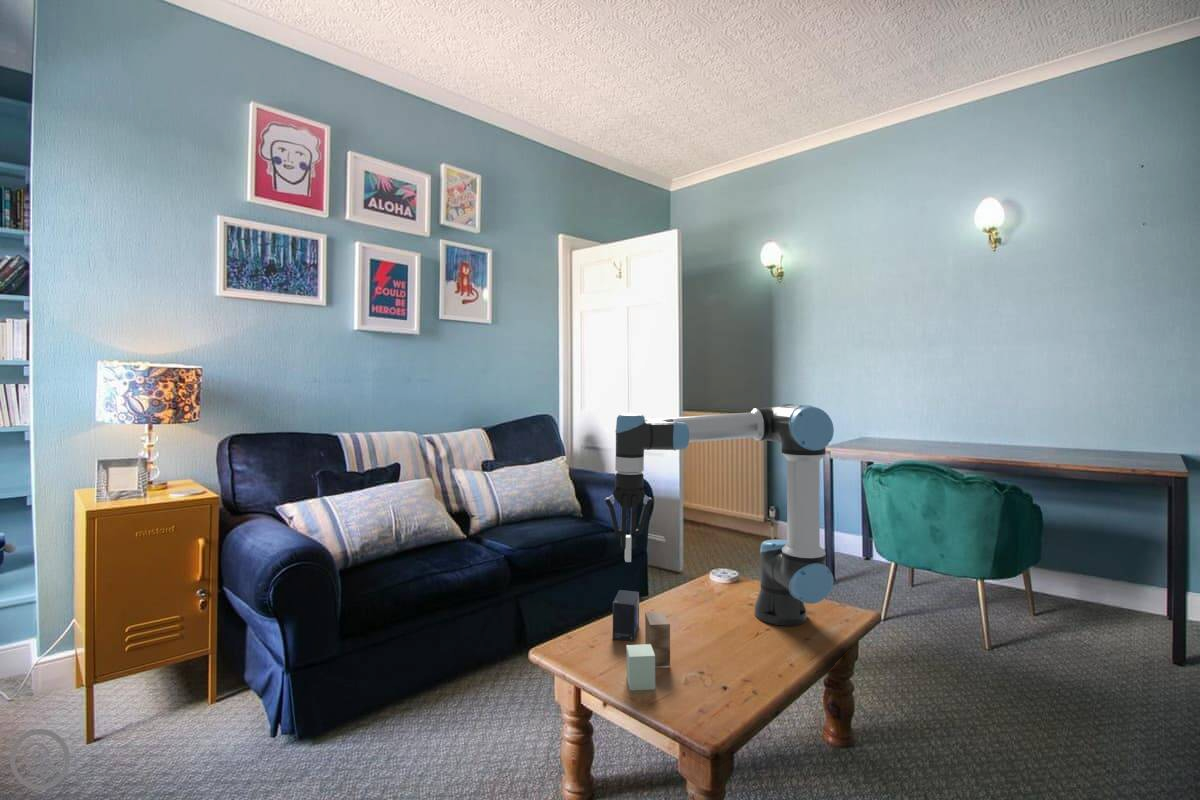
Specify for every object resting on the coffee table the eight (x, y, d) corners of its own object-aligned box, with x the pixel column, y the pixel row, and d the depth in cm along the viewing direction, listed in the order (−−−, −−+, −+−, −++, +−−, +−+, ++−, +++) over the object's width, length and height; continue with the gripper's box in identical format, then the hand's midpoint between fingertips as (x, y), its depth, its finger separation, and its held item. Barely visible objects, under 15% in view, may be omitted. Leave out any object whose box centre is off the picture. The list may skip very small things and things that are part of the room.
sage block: (651, 676, 142) (650, 644, 142) (655, 689, 136) (655, 655, 136) (626, 677, 142) (626, 645, 141) (629, 690, 136) (629, 656, 135)
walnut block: (664, 652, 154) (664, 611, 154) (670, 667, 146) (669, 624, 146) (645, 653, 154) (645, 612, 154) (650, 668, 146) (650, 624, 146)
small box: (635, 641, 161) (634, 604, 161) (611, 639, 162) (611, 602, 162) (640, 626, 171) (639, 590, 171) (618, 624, 173) (618, 589, 172)
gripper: (651, 470, 159) (650, 556, 159) (604, 469, 158) (602, 556, 159) (655, 474, 151) (654, 564, 152) (605, 474, 150) (604, 564, 151)
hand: (627, 560), depth 155 cm, fingers closed
